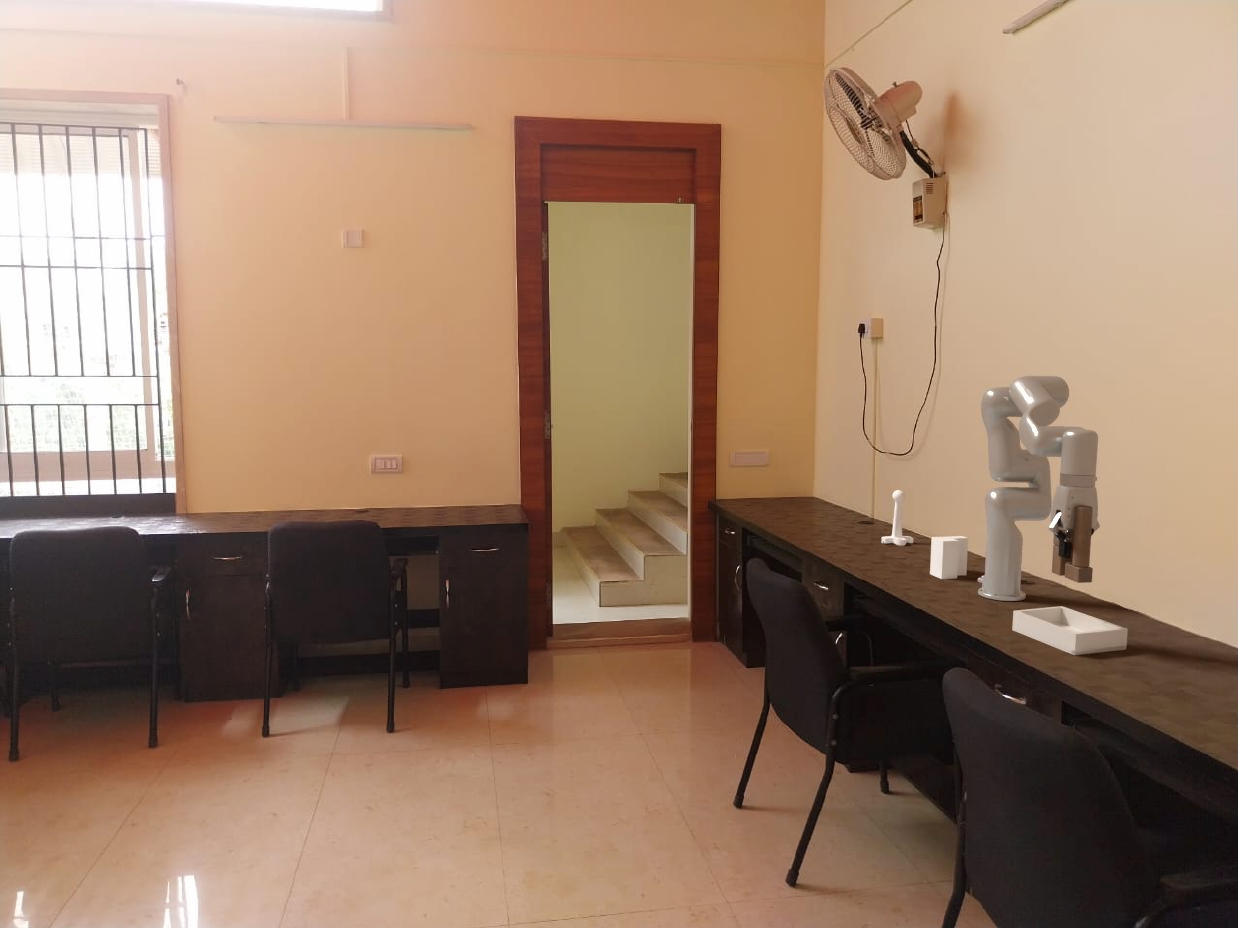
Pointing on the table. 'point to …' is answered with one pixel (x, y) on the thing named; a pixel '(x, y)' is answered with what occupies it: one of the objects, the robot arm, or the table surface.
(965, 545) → the corner bracket
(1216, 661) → the table surface
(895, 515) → the joystick
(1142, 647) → the table surface
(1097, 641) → the tray
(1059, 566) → the brown rod with wedge
